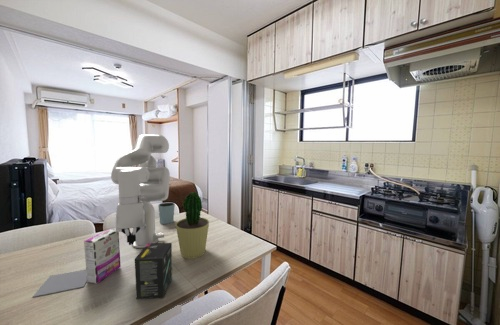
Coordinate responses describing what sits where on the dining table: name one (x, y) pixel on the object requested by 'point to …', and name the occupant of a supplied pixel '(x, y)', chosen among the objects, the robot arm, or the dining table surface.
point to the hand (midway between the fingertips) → (131, 243)
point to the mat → (63, 283)
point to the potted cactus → (192, 228)
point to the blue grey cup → (166, 212)
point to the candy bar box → (102, 255)
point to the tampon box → (153, 270)
